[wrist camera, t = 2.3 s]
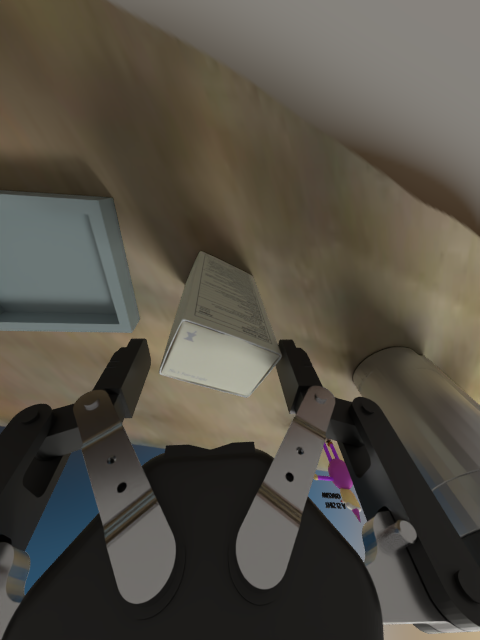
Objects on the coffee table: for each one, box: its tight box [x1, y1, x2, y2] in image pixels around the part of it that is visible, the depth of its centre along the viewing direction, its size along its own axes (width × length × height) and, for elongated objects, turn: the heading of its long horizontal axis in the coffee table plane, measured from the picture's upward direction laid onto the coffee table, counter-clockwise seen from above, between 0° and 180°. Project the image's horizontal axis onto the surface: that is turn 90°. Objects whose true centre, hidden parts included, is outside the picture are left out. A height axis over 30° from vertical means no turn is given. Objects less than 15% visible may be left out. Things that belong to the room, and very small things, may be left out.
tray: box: [0, 190, 140, 333], centre depth 20 cm, size 14×12×2 cm
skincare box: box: [159, 251, 282, 398], centre depth 17 cm, size 6×4×12 cm
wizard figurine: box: [314, 442, 361, 521], centre depth 37 cm, size 11×3×12 cm, turn 69°
